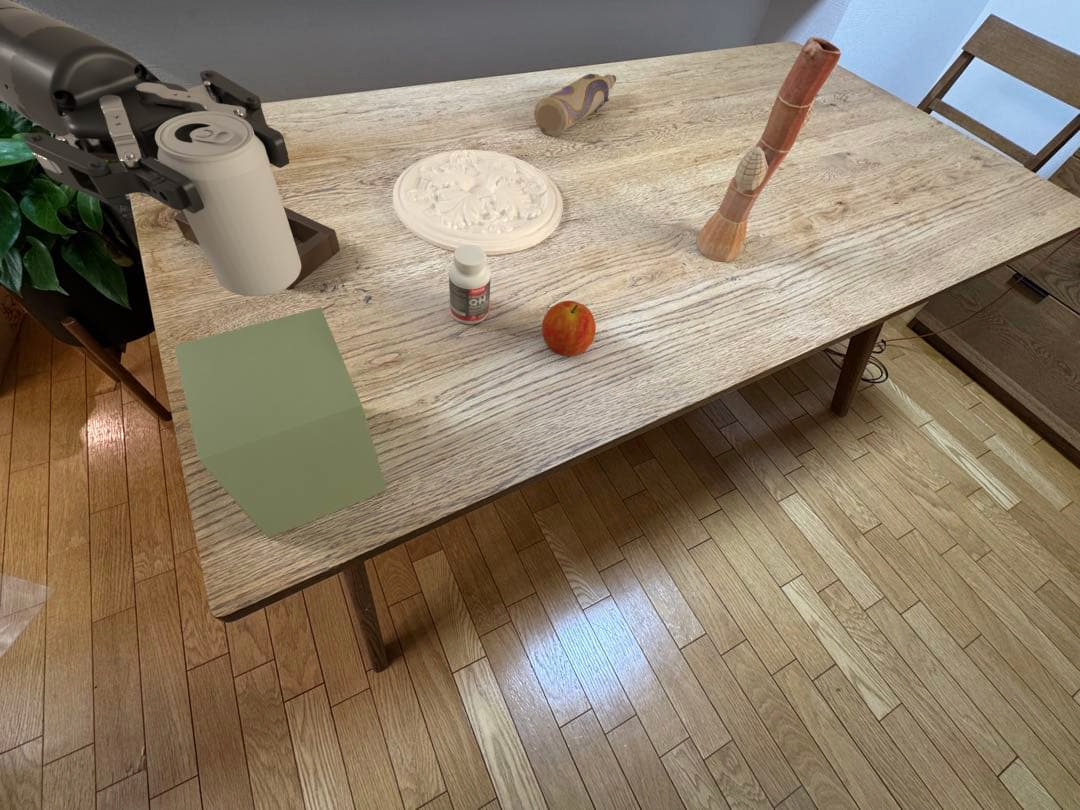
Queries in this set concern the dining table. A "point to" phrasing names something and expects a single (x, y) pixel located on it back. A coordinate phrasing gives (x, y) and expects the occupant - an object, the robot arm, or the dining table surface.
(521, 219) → the ceiling medallion
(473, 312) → the pill bottle
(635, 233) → the dining table surface
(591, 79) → the decorative bottle
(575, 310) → the fruit
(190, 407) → the stand
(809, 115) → the vase
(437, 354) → the dining table surface
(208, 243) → the beverage can
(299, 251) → the tray
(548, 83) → the dining table surface
